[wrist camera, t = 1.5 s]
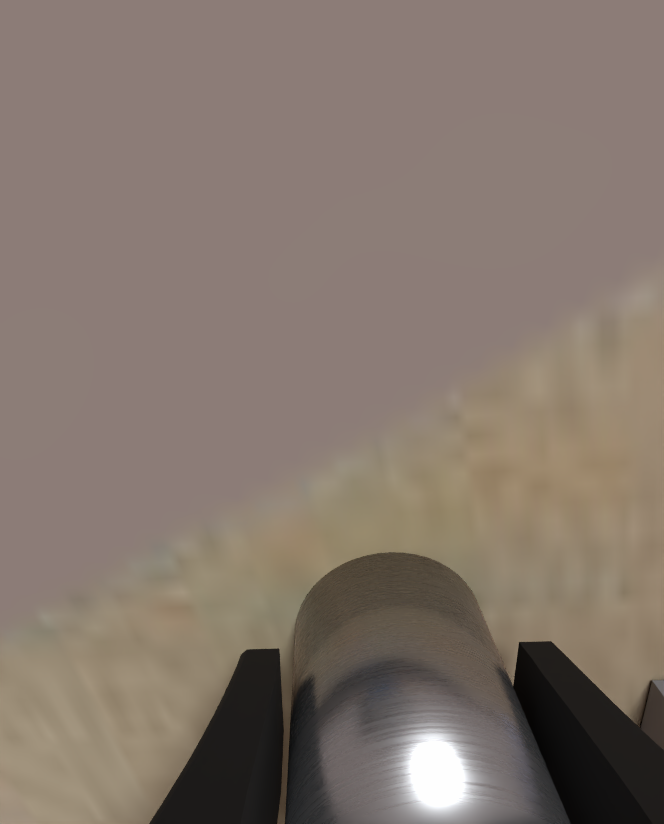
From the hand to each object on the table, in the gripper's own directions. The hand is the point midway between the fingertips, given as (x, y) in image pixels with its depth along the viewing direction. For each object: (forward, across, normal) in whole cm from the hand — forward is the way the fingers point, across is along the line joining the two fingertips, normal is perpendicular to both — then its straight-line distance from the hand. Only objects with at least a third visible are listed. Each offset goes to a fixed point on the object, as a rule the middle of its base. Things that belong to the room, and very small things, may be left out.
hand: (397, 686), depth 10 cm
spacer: (+2, 0, 0) cm, 2 cm away
